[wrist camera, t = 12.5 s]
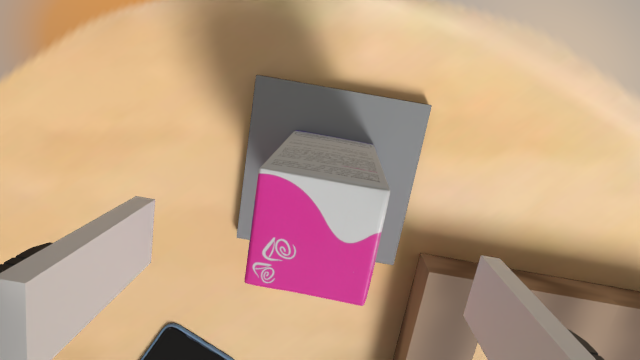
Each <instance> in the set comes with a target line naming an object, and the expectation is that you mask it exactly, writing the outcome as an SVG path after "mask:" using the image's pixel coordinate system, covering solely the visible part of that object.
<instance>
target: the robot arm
mask: <svg viewBox="0 0 640 360" xmlns="http://www.w3.org/2000/svg"><path fill="white" fill-rule="evenodd" d="M154 208H155V199H150V198H144V197H138V196H135V197H134V198H132V199H130V200H128V201H127V202H125V203H123V204H121V205H119V206H118V207H116V208H114V209H112V210H111V211H109V212H107V213H105V214H104V215H102V216H100V217H98V218H97V219H95V220H93V221H91V222H90V223H88V224H86V225H84V226H82V227H81V228H79V229H77V230H75V231H74V232H72V233H70V234H68V235H67V236H65V237H63V238H61V239H60V240H58V241H56V242H54V243H46V244H43V245H39V246H36V247H33V248H30V249H28V250H26V251H24V252H22V253H21V254H19V255H17V256H16V258H11V259H10V260H8V261H6V262H4V264H0V360H52V359H53V358H54V357H55V356H56V355H57V354H58V353H59V352H60V351H61V350H62V349H63V348H64V347H65V346H66V345H67V344H68V343H69V342H70V341H71V340H72V339H73V338H74V337H75V336H76V335H77V334H78V333H79V332H80V331H81V330H82V329H83V328H84V327H85V326H86V325H87V324H88V323H89V322H90V321H91V320H92V319H93V318H95V317H96V316H97V315H98V314H99V313H100V312H101V311H102V310H103V309H104V308H105V307H106V306H107V305H108V304H109V303H110V302H111V301H112V300H113V299H114V298H115V297H116V296H117V295H118V294H119V293H120V292H121V291H122V290H123V289H124V288H125V287H126V286H127V285H128V284H129V283H130V282H131V281H132V280H133V279H134V278H135V277H136V276H137V275H139V274H140V273H141V272H142V271H143V270H144V269H145V268H146V267H147V266H148V265H149V264H150V263H151V254H152V238H153V223H154ZM463 316H464V318H465V320H466V321H467V323H468V325H469V327H470V329H471V330H472V332H473V334H474V336H475V338H476V339H477V341H478V343H479V345H480V346H481V348H482V350H483V352H484V354H485V355H486V357H487V359H488V360H604V359H603V358H602V357H601V356H599V355H598V353H597V352H596V351H595V349H594V348H593V347H592V346H591V345H590V344H589V343H588V342H587V341H585V340H584V339H582V338H581V337H580V336H578V335H577V334H575V333H574V332H572V331H571V330H568V329H566V327H565V326H564V325H563V324H562V323H561V322H560V321H559V320H558V319H557V318H556V317H555V316H554V315H553V314H552V313H551V312H550V311H549V310H548V309H547V308H546V306H545V305H544V304H543V303H542V302H541V301H540V300H539V299H538V298H537V297H536V296H535V295H534V294H533V293H532V292H531V291H530V290H529V289H528V288H527V286H526V285H525V284H524V283H523V282H522V281H521V280H520V279H519V278H518V277H517V276H516V275H515V274H514V273H513V272H512V271H511V270H510V269H509V268H508V267H507V265H506V264H505V263H504V262H503V261H502V260H501V259H500V258H494V257H488V256H483V255H481V257H480V260H479V263H478V267H477V270H476V274H475V277H474V280H473V284H472V287H471V291H470V294H469V297H468V301H467V304H466V308H465V311H464V314H463Z"/></svg>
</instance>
